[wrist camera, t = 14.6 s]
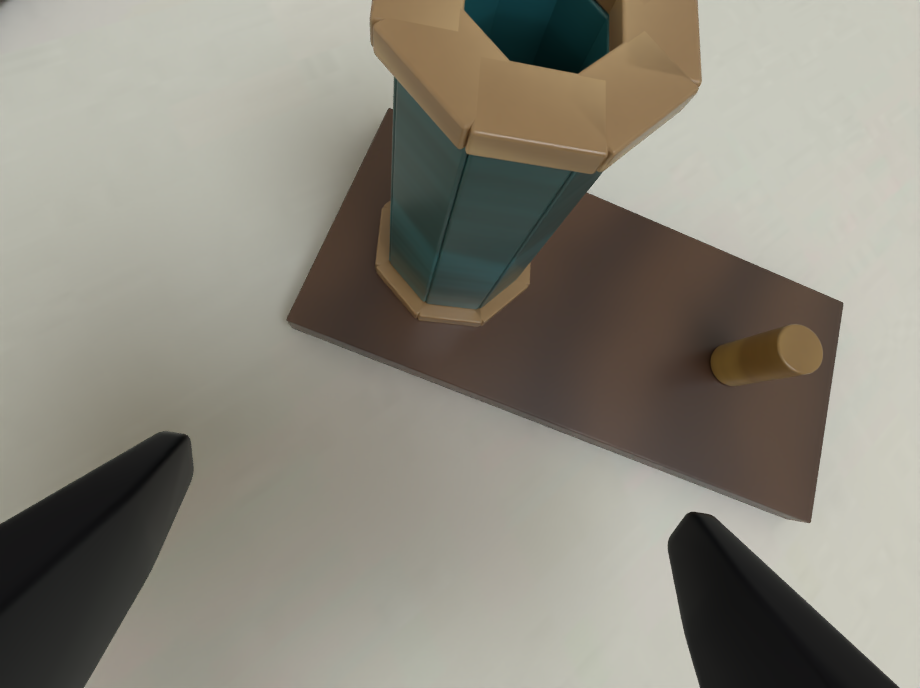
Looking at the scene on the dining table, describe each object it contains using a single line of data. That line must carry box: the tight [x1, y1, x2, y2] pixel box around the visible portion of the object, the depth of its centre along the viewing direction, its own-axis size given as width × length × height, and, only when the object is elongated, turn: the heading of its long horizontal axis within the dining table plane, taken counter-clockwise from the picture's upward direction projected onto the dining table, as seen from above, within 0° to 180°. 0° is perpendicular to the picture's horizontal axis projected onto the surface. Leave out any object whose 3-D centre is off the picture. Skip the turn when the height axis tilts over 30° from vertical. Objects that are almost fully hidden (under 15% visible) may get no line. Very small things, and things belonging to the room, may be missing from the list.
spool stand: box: [287, 108, 843, 523], centre depth 18 cm, size 22×10×5 cm, turn 70°
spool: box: [370, 0, 702, 327], centre depth 13 cm, size 6×6×11 cm
